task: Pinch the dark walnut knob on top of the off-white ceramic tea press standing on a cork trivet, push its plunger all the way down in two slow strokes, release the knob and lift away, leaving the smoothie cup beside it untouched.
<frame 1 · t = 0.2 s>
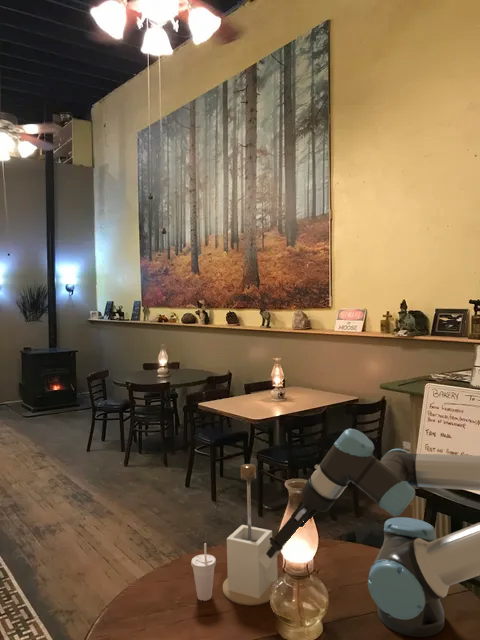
hand: (275, 551, 123), 16 cm above the table, tool tilted 35°, fingers open, 13 cm apart
smoothie: (204, 597, 133), on the table
plunger: (249, 507, 135), point 22 cm above the table, slide at 0.0 cm
press: (250, 588, 136), on the table
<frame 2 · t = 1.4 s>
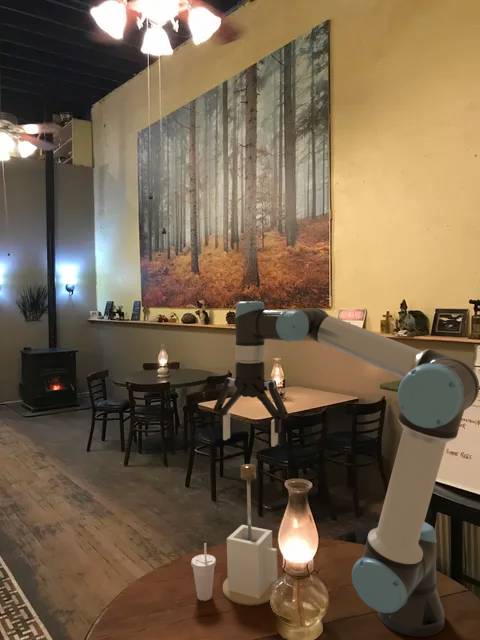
hand: (250, 441, 133), 40 cm above the table, tool pointing down, fingers open, 13 cm apart
nothing on the table moved.
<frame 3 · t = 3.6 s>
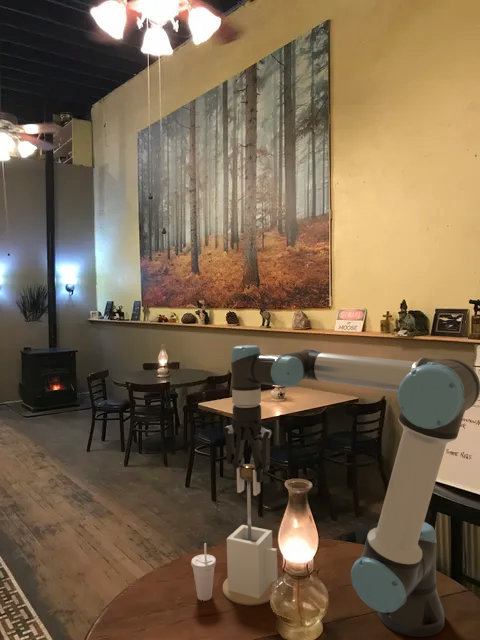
hand: (248, 492, 135), 26 cm above the table, tool pointing down, fingers closed on plunger, 4 cm apart
plunger: (249, 507, 135), point 22 cm above the table, slide at 0.0 cm, touching gripper
everything else where it was.
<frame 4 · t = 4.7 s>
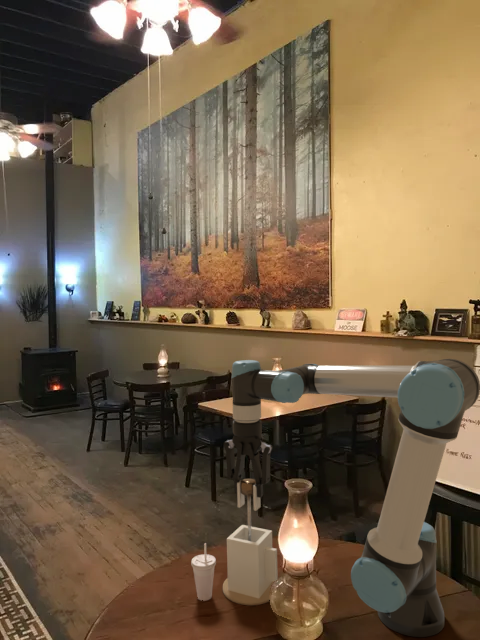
hand: (249, 506, 135), 22 cm above the table, tool pointing down, fingers closed on plunger, 4 cm apart
plunger: (249, 521, 135), point 18 cm above the table, slide at 4.0 cm, touching gripper
everything else where it was.
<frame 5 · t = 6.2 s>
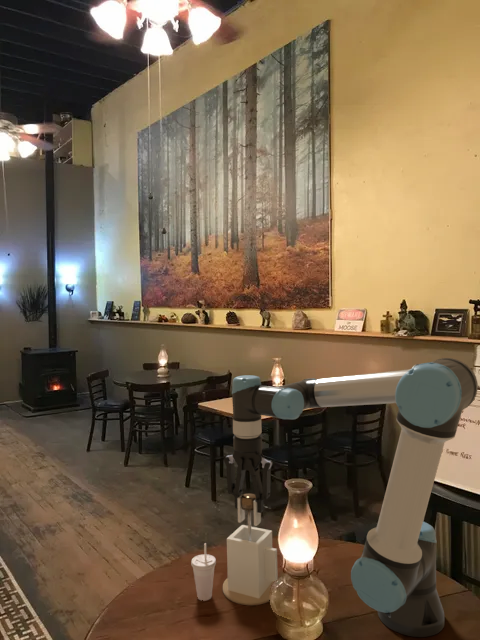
hand: (249, 521, 135), 18 cm above the table, tool pointing down, fingers closed on plunger, 4 cm apart
plunger: (249, 536, 135), point 14 cm above the table, slide at 8.0 cm, touching gripper
everything else where it was.
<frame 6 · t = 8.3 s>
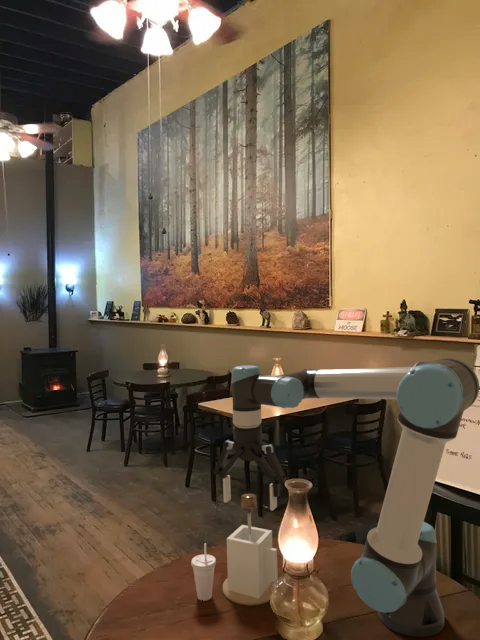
hand: (250, 504, 135), 23 cm above the table, tool pointing down, fingers open, 13 cm apart
plunger: (249, 537, 135), point 14 cm above the table, slide at 8.1 cm
everything else where it was.
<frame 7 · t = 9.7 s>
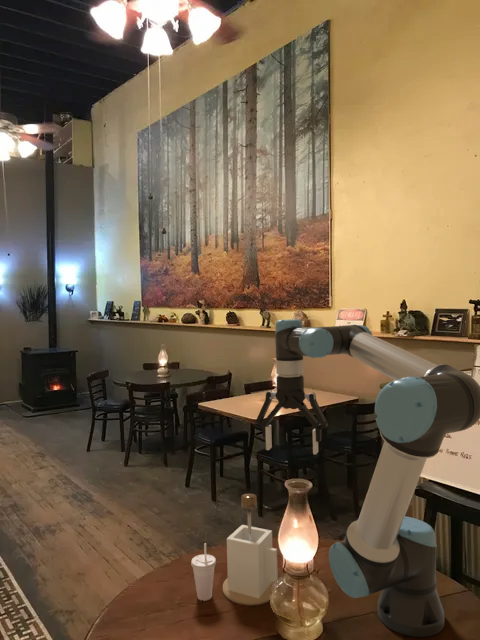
hand: (291, 451, 142), 34 cm above the table, tool pointing down, fingers open, 13 cm apart
nothing on the table moved.
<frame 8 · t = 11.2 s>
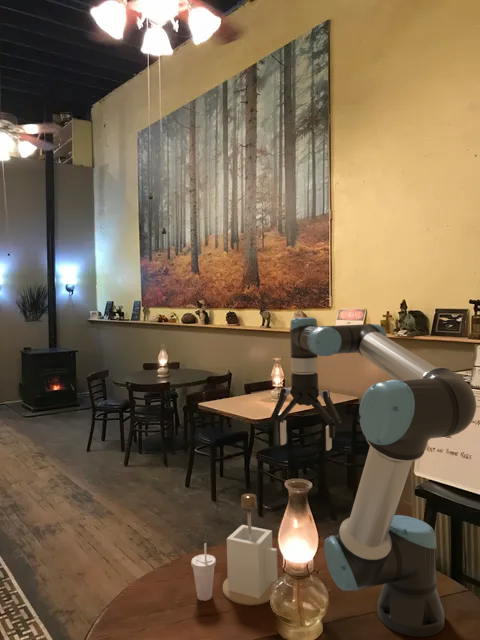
hand: (305, 446, 145), 35 cm above the table, tool pointing down, fingers open, 13 cm apart
nothing on the table moved.
at the end: plunger slide at 8.1 cm; the gripper is holding nothing; smoothie moved 0.2 cm from its start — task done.
